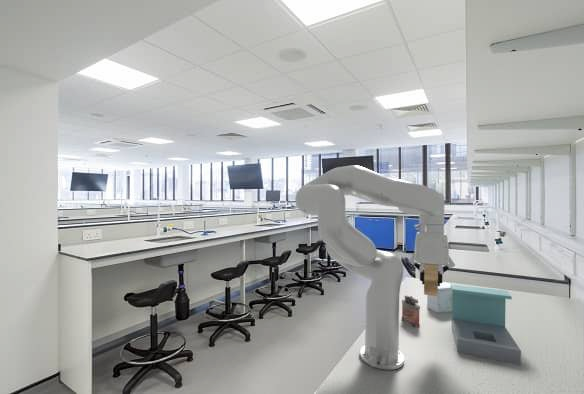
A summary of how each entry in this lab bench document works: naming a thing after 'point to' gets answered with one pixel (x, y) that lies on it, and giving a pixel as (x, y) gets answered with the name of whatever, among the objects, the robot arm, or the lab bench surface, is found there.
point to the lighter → (410, 311)
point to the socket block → (482, 323)
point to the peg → (430, 279)
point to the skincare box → (441, 299)
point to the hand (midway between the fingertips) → (430, 283)
